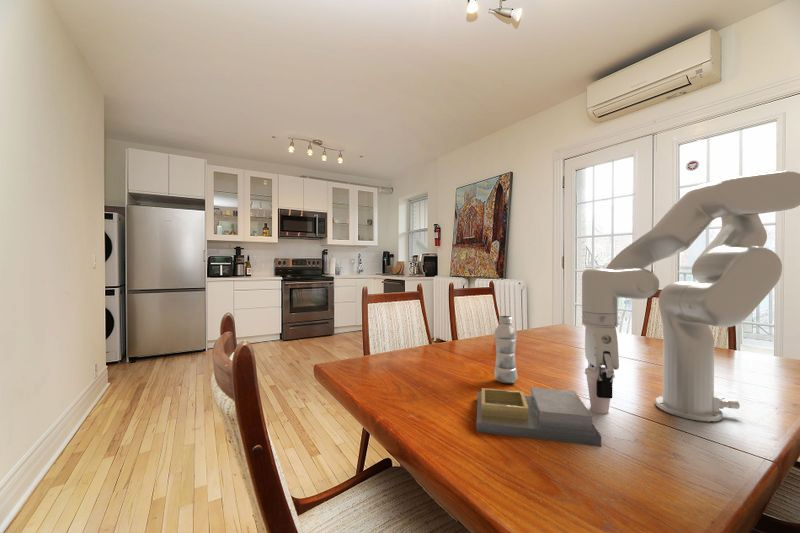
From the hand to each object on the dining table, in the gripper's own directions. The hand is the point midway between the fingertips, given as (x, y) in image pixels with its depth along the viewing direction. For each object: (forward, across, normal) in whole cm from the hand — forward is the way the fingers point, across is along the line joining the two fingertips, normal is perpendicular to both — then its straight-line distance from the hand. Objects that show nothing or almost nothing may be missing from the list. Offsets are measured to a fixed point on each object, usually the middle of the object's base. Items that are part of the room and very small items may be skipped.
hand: (599, 391), depth 83 cm
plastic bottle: (+5, +15, +21) cm, 26 cm away
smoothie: (+5, 0, 0) cm, 5 cm away
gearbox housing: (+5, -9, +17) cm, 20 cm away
